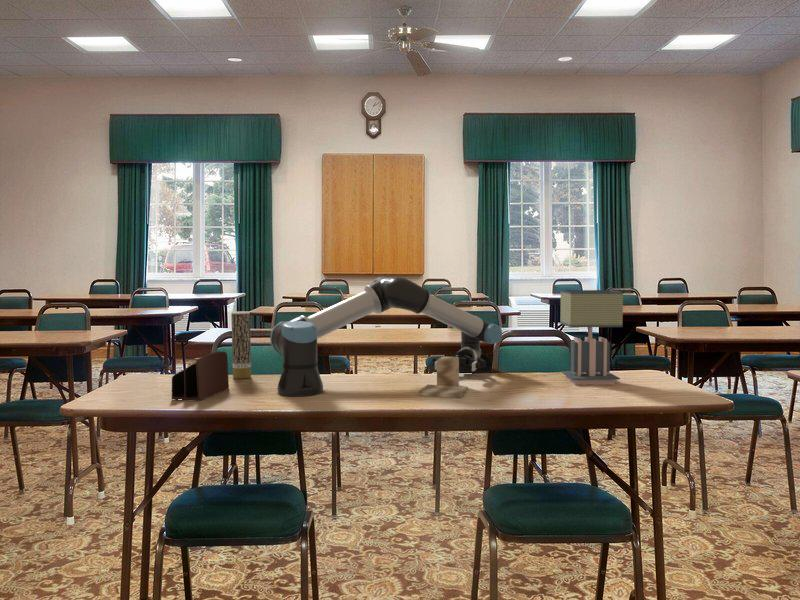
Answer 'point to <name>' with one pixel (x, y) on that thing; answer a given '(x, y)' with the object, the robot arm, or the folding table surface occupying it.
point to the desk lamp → (591, 312)
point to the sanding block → (448, 371)
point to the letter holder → (202, 378)
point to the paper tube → (241, 344)
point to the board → (443, 391)
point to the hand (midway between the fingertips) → (454, 366)
